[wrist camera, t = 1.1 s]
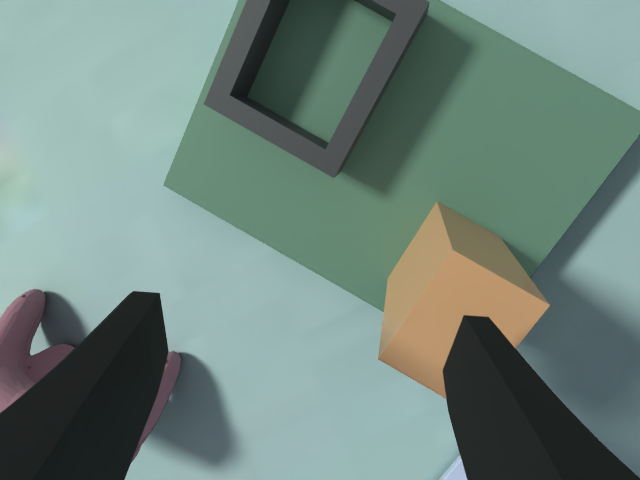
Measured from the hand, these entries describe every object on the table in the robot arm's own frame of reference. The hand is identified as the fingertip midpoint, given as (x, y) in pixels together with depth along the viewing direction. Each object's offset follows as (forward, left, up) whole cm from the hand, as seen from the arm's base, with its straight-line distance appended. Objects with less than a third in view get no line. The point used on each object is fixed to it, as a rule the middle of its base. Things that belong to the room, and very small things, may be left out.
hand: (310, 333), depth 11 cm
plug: (-4, -1, -9) cm, 10 cm away
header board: (+1, -4, -11) cm, 11 cm away
